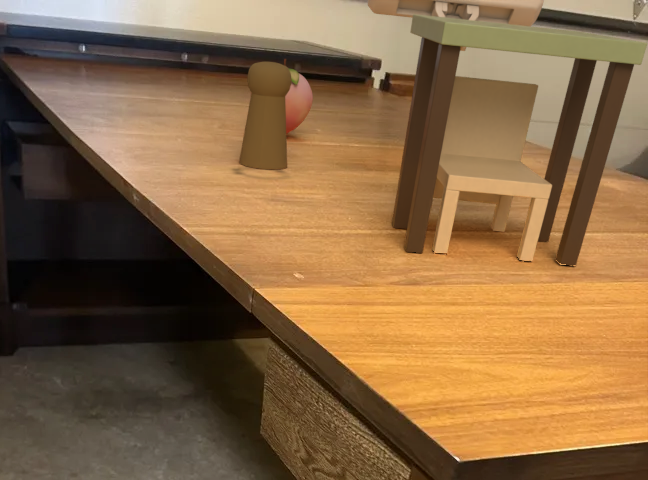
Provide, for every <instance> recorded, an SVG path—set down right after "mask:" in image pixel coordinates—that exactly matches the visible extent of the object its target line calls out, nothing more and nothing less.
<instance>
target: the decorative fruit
mask: <svg viewBox="0 0 648 480" xmlns="http://www.w3.org/2000/svg"><path fill="white" fill-rule="evenodd" d="M283 65H284V66H286V67H287V58H283ZM289 71H290V73H291V79H292V80H291V87H290V90H289V92H288V93H287V95H286V96H285V105H286V135H287V134H290V133H291V132H293V131H294V130H296V129H297V128H298V127H299V126H300V125H301V124H302V123H303V122H304V121H305V119H306V118H307V117H308V115H309V114H310V112H311V109H312V106H313V101H314V94H313V91H312V87H311V85H310V84H309V82H308V80H307V79H306V77H305V76H303V75H302V74H301V73H299V72H298V70H296V69H293V68H289Z"/></svg>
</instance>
